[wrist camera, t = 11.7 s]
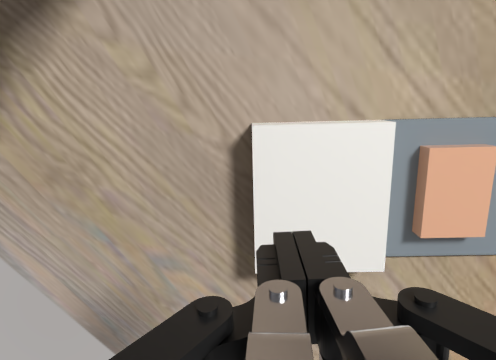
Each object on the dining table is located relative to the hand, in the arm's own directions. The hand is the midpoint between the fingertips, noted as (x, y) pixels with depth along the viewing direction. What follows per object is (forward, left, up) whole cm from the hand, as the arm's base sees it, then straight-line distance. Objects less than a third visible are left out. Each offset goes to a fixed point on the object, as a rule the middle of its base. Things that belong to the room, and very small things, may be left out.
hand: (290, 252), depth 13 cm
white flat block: (+4, +6, -24) cm, 25 cm away
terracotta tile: (+4, +20, -22) cm, 30 cm away
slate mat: (+4, +21, -24) cm, 32 cm away
